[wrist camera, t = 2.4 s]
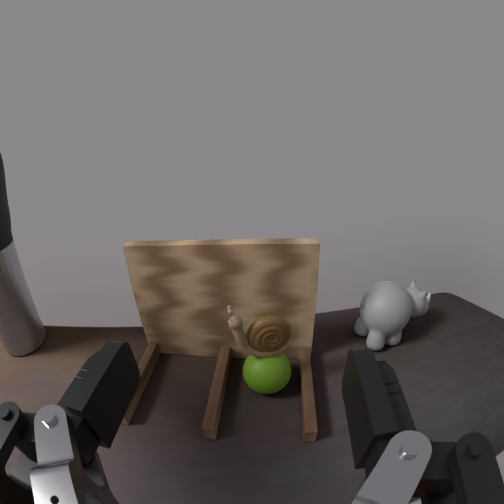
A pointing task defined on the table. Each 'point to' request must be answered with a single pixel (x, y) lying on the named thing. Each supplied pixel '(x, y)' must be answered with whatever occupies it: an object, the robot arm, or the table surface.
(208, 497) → the table surface
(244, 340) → the snail figurine
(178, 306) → the lane rack
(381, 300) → the chubby cartoon animal
